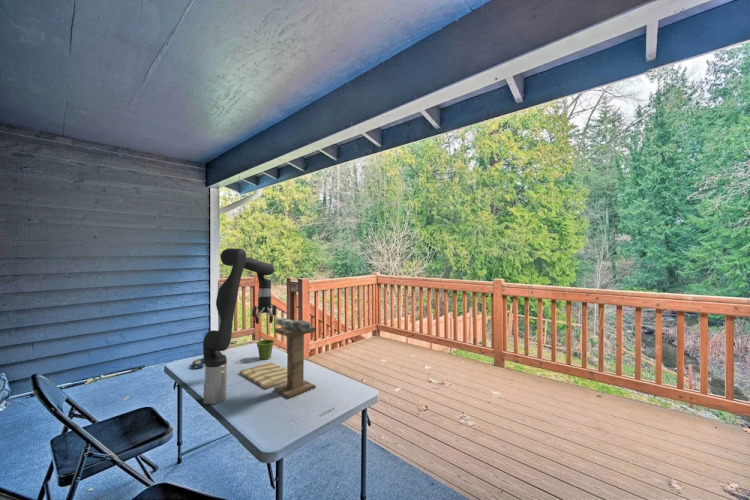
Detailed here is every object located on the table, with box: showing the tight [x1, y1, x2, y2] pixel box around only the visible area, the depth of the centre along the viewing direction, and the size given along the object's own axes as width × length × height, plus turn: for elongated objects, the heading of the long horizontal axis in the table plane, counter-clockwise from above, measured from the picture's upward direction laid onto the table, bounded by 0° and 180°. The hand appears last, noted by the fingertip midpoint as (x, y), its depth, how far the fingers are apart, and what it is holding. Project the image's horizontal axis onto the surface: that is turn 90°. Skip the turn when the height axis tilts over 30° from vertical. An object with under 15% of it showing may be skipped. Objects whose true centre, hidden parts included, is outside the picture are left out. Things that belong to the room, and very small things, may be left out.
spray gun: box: [191, 354, 227, 370], centre depth 195 cm, size 21×4×15 cm
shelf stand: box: [273, 325, 317, 400], centre depth 158 cm, size 14×16×32 cm
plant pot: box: [255, 339, 275, 361], centre depth 206 cm, size 12×12×11 cm
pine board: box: [239, 361, 287, 390], centre depth 175 cm, size 32×20×2 cm, turn 48°
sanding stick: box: [275, 317, 311, 332], centre depth 161 cm, size 26×5×4 cm, turn 48°
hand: (264, 323), depth 181 cm, fingers open, 8 cm apart
